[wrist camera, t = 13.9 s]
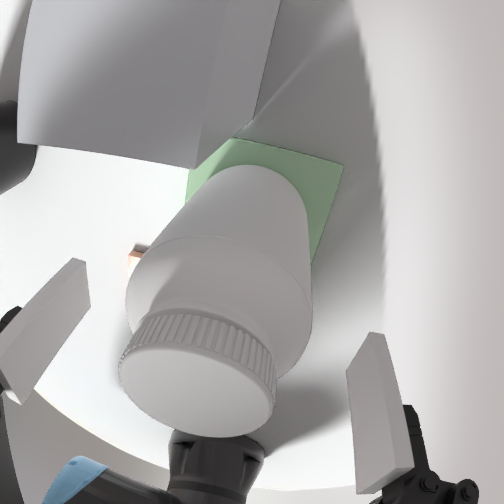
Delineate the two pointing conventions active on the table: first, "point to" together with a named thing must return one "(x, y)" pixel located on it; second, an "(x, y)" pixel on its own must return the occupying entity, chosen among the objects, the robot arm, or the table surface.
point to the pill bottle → (220, 306)
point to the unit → (142, 75)
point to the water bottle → (13, 149)
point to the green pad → (286, 164)
